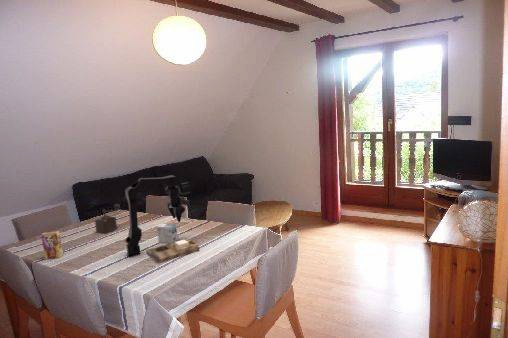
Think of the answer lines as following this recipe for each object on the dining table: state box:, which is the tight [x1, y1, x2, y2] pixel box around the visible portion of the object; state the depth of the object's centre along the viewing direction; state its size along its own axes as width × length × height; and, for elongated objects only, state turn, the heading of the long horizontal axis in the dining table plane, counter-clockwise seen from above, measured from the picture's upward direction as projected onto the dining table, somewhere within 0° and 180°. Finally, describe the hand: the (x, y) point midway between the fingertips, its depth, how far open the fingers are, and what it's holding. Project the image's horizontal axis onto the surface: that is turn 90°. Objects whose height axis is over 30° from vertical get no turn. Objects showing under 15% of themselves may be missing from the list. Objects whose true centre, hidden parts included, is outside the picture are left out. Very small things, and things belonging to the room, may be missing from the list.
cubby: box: [173, 239, 199, 253], centre depth 210 cm, size 12×10×2 cm
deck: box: [145, 238, 200, 264], centre depth 209 cm, size 25×19×4 cm
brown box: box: [94, 203, 121, 235], centre depth 258 cm, size 16×11×18 cm
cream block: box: [175, 239, 189, 251], centre depth 208 cm, size 6×6×4 cm
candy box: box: [40, 231, 64, 260], centre depth 213 cm, size 9×4×15 cm, turn 96°
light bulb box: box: [156, 223, 179, 244], centre depth 227 cm, size 11×7×11 cm, turn 74°
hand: (176, 220), depth 223 cm, fingers open, 9 cm apart
